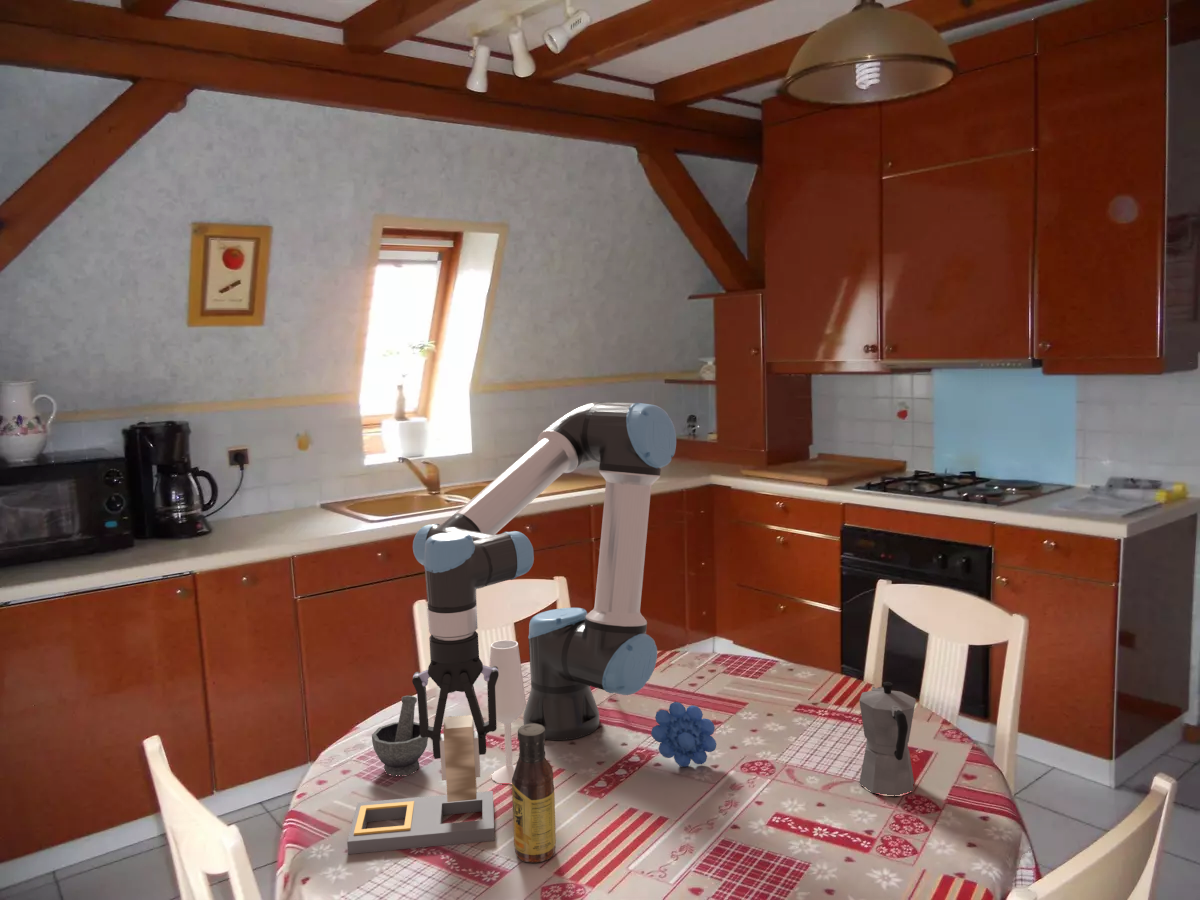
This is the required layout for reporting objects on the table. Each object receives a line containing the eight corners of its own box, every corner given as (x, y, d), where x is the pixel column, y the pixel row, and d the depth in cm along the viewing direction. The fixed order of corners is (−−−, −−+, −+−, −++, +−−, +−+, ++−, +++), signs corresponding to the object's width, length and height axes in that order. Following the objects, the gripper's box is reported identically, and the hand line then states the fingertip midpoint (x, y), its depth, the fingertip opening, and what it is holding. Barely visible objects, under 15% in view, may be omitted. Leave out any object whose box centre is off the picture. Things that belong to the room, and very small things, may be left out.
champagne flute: (530, 782, 160) (525, 649, 158) (491, 786, 159) (485, 652, 157) (526, 765, 167) (522, 636, 164) (489, 769, 166) (484, 639, 163)
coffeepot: (848, 767, 163) (849, 669, 161) (902, 766, 163) (903, 667, 161) (873, 811, 148) (874, 703, 146) (932, 810, 148) (934, 702, 146)
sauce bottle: (514, 844, 141) (509, 719, 139) (555, 841, 141) (551, 716, 139) (514, 868, 134) (509, 738, 132) (557, 865, 135) (552, 735, 133)
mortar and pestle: (416, 783, 161) (412, 717, 160) (365, 780, 163) (362, 714, 162) (438, 754, 172) (435, 692, 171) (391, 752, 174) (387, 690, 173)
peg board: (493, 802, 154) (492, 789, 154) (494, 840, 142) (494, 826, 142) (358, 814, 151) (357, 800, 151) (347, 854, 139) (347, 839, 139)
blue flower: (654, 779, 160) (653, 713, 159) (650, 761, 167) (649, 698, 166) (721, 775, 161) (720, 709, 160) (714, 758, 168) (713, 694, 166)
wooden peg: (476, 785, 150) (472, 714, 148) (476, 799, 145) (472, 726, 144) (448, 788, 149) (444, 717, 147) (447, 802, 145) (443, 729, 143)
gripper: (509, 621, 148) (515, 759, 151) (398, 629, 146) (406, 769, 149) (510, 636, 141) (517, 780, 144) (393, 644, 139) (403, 791, 142)
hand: (461, 774), depth 147 cm, fingers closed on wooden peg, 4 cm apart
